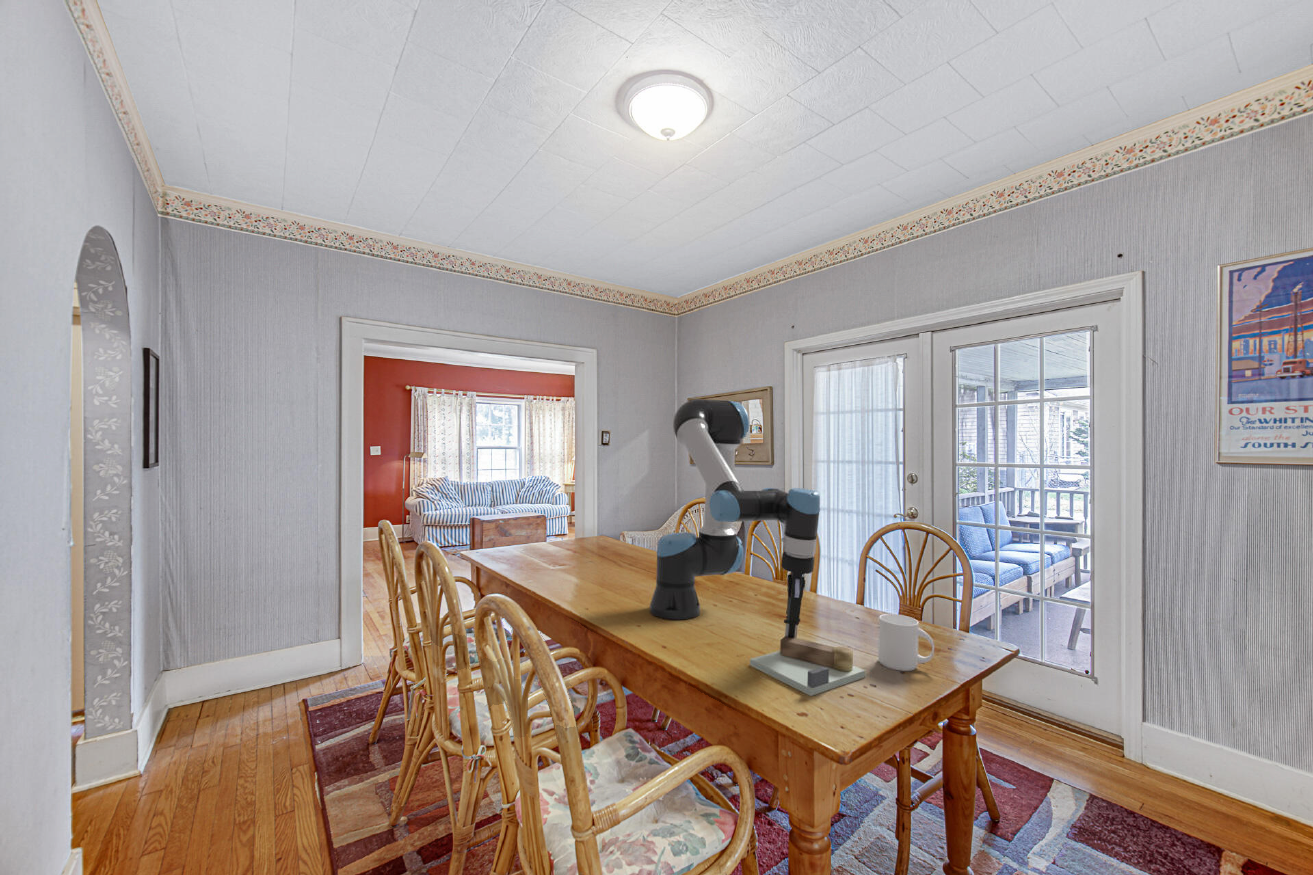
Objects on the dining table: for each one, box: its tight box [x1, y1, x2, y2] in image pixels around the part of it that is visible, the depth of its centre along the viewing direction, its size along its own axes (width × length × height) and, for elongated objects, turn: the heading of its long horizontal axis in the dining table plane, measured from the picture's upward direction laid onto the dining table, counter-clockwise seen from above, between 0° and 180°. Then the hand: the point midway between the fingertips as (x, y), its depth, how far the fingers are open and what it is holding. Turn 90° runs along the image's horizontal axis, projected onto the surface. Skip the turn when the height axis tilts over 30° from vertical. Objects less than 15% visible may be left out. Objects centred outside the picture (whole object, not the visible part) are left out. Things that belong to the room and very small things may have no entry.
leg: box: [779, 635, 854, 671], centre depth 128 cm, size 16×4×4 cm, turn 55°
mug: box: [877, 613, 935, 672], centre depth 130 cm, size 9×12×11 cm
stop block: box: [807, 666, 829, 688], centre depth 115 cm, size 1×5×3 cm, turn 124°
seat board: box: [749, 650, 866, 697], centre depth 126 cm, size 18×18×2 cm
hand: (789, 648), depth 134 cm, fingers closed
